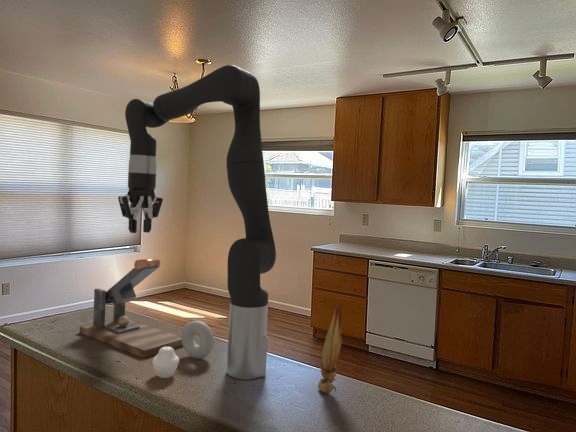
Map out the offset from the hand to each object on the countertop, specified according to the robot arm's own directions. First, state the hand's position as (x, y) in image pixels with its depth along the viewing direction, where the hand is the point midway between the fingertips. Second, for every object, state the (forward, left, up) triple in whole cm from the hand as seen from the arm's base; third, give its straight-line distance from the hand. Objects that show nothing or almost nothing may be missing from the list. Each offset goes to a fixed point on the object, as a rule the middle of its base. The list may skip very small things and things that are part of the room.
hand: (140, 232), depth 128 cm
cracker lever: (+2, -2, -19) cm, 19 cm away
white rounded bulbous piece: (-11, +26, -31) cm, 42 cm away
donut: (-18, +15, -31) cm, 39 cm away
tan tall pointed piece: (-47, +38, -31) cm, 68 cm away
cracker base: (+1, -1, -31) cm, 31 cm away
